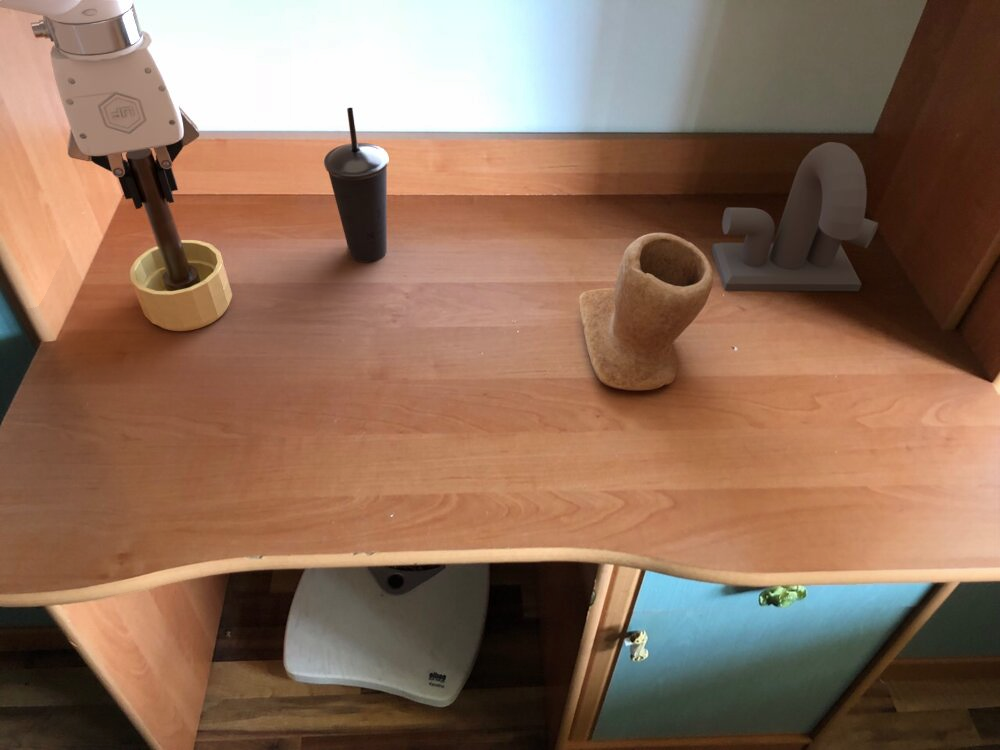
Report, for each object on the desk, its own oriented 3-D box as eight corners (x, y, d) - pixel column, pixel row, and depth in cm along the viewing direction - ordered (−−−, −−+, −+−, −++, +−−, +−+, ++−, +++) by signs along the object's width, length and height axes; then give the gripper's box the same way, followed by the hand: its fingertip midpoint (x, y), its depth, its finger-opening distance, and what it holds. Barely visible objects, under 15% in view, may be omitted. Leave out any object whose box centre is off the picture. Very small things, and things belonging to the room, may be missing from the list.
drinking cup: (329, 264, 102) (305, 120, 88) (351, 230, 108) (331, 89, 93) (385, 273, 101) (370, 129, 87) (404, 239, 106) (393, 97, 92)
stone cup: (698, 397, 87) (729, 291, 76) (591, 398, 87) (607, 292, 76) (672, 306, 98) (696, 202, 87) (576, 307, 97) (588, 203, 87)
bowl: (149, 342, 92) (133, 302, 87) (142, 289, 98) (127, 250, 94) (239, 321, 94) (227, 282, 90) (226, 271, 101) (215, 232, 97)
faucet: (732, 330, 95) (777, 184, 81) (706, 250, 106) (742, 110, 92) (882, 330, 95) (953, 186, 81) (841, 251, 106) (897, 111, 92)
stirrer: (168, 301, 94) (119, 166, 81) (165, 281, 96) (117, 147, 83) (203, 294, 95) (160, 159, 82) (199, 274, 97) (157, 140, 84)
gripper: (-2, 57, 69) (75, 233, 82) (191, 32, 73) (235, 203, 86) (2, 24, 74) (74, 195, 87) (182, 3, 78) (225, 168, 91)
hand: (153, 197), depth 86 cm, fingers closed on stirrer, 2 cm apart
